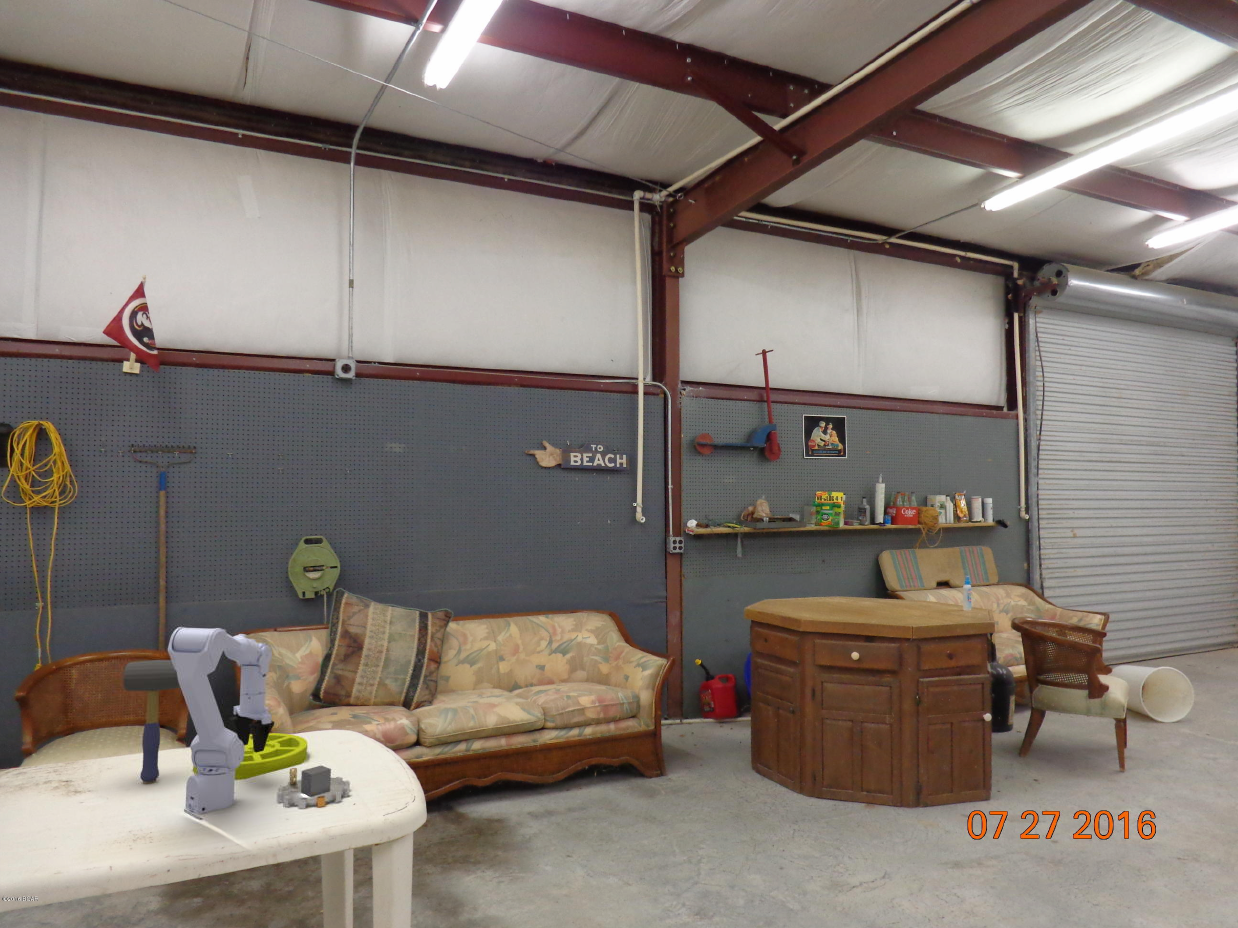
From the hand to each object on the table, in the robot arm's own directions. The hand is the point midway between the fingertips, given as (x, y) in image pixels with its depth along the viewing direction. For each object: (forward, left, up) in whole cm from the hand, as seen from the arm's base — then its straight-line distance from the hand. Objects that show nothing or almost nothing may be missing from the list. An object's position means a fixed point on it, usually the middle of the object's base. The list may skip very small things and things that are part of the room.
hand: (251, 748), depth 199 cm
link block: (+3, -23, -6) cm, 24 cm away
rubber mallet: (-14, +22, -10) cm, 28 cm away
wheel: (+5, -20, -8) cm, 22 cm away
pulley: (+10, +18, -10) cm, 23 cm away
